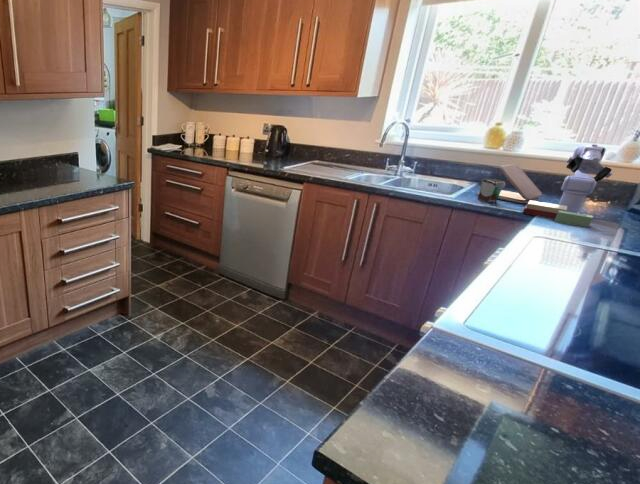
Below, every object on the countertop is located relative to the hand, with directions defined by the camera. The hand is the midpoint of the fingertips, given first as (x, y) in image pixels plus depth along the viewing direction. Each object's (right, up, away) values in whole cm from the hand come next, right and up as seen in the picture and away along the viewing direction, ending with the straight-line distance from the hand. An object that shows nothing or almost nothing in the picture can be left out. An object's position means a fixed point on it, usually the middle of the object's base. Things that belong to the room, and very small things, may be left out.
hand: (586, 174), depth 168 cm
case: (+9, -3, +46) cm, 47 cm away
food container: (-7, -6, +37) cm, 38 cm away
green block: (-1, -19, +5) cm, 20 cm away
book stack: (-1, -14, +17) cm, 22 cm away
